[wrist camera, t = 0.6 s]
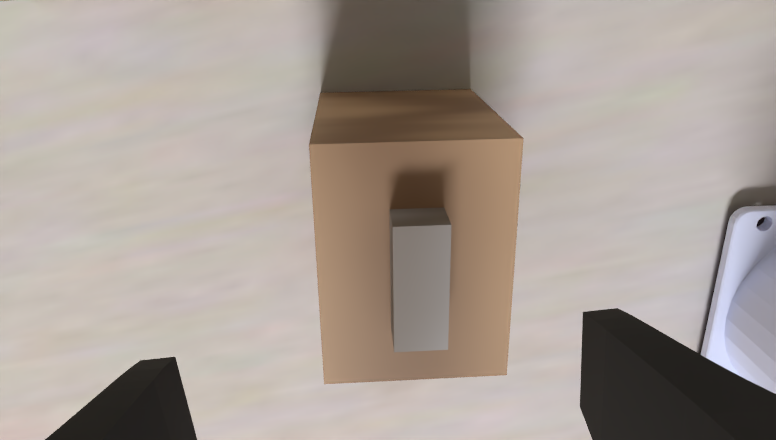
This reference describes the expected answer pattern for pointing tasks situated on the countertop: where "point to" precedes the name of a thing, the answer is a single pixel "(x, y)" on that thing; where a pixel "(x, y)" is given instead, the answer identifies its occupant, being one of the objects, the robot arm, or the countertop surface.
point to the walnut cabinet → (414, 234)
